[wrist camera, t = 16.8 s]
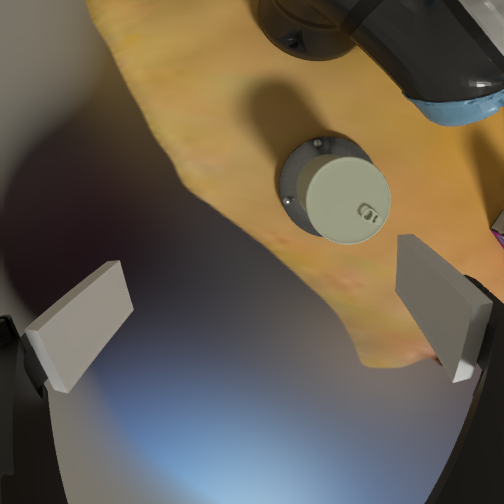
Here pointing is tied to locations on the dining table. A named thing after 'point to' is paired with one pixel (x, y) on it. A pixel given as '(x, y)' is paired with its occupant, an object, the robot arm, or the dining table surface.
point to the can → (344, 197)
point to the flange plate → (295, 166)
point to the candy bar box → (499, 228)
